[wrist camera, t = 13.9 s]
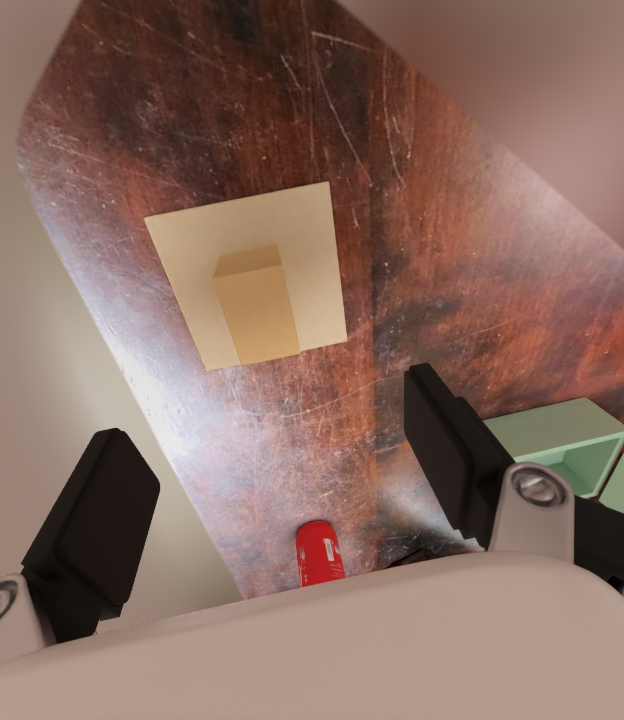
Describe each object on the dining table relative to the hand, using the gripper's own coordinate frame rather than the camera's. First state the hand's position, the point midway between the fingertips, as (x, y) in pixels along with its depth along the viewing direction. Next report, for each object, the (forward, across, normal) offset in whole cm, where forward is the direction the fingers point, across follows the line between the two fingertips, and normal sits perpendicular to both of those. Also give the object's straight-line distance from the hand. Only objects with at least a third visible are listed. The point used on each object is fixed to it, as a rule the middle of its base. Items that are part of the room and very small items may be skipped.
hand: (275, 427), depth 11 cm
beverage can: (+15, +2, +34) cm, 37 cm away
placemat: (+16, +1, +1) cm, 16 cm away
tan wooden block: (+15, +1, +1) cm, 15 cm away
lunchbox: (+16, -23, +26) cm, 38 cm away
